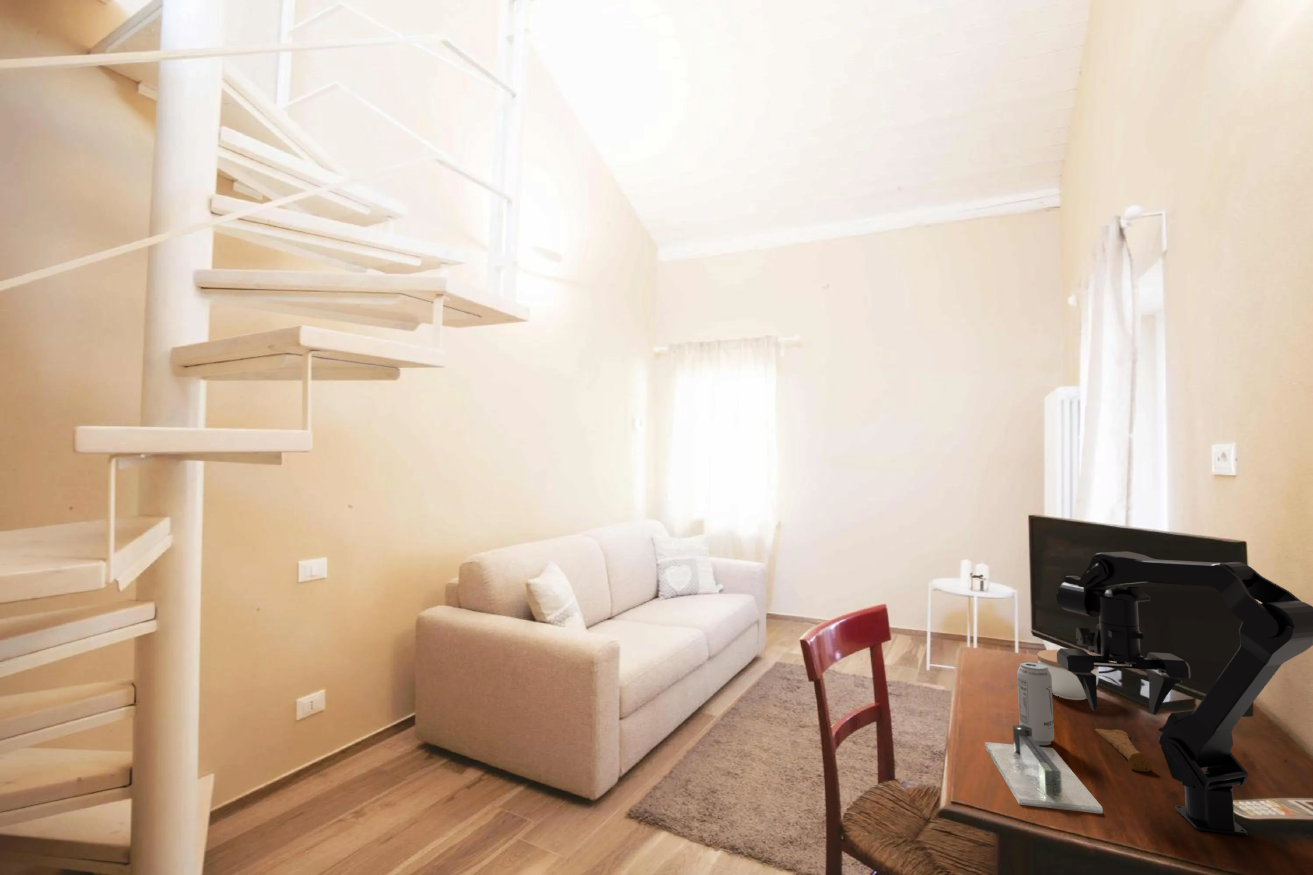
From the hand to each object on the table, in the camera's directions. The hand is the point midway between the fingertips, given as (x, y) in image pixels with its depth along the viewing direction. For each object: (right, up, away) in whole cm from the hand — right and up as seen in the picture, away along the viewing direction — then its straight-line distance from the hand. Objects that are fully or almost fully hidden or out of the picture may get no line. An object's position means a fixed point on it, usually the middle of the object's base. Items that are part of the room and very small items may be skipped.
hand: (1123, 711), depth 112 cm
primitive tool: (+9, -13, +12) cm, 20 cm away
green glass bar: (-14, -11, 0) cm, 18 cm away
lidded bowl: (+18, -14, +41) cm, 47 cm away
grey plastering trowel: (-15, -12, +1) cm, 19 cm away
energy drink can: (-5, -13, +16) cm, 22 cm away
